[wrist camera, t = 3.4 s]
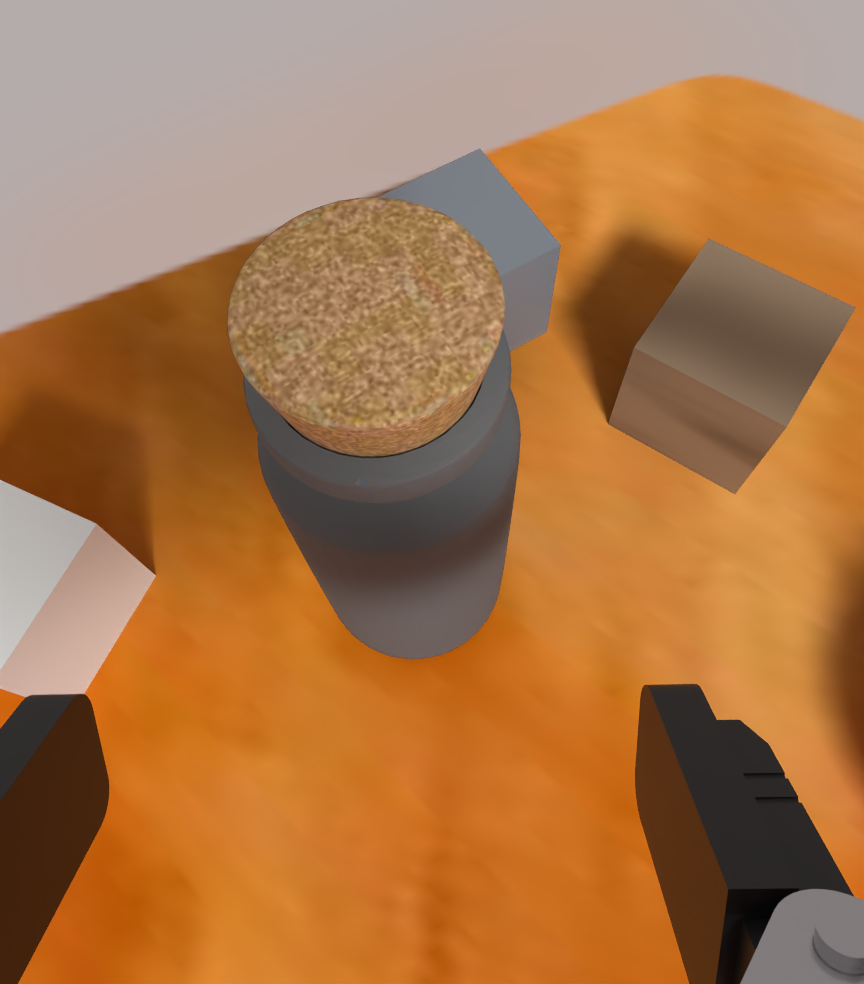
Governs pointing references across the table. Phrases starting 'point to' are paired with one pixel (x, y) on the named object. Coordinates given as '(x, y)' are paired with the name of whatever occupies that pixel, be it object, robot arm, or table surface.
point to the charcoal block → (496, 236)
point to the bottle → (384, 414)
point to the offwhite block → (59, 595)
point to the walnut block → (726, 364)
